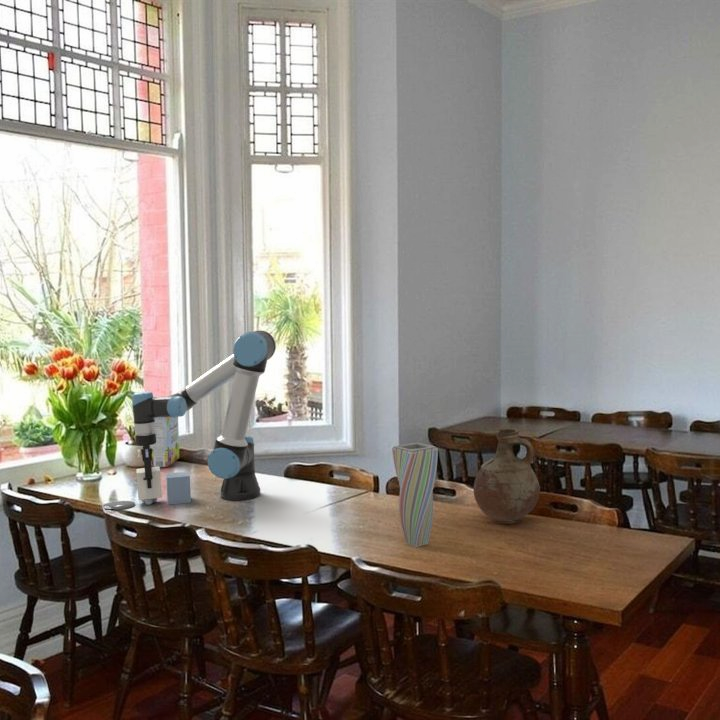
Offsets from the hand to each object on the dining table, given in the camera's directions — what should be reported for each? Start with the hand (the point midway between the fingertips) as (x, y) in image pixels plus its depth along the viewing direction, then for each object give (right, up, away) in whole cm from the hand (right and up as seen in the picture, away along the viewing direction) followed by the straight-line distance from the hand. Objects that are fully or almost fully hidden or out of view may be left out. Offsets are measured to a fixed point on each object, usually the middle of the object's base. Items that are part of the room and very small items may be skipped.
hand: (150, 493), depth 320 cm
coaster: (-11, -4, -2) cm, 12 cm away
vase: (+95, -6, -58) cm, 112 cm away
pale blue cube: (+10, -3, +3) cm, 11 cm away
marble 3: (+1, -3, +3) cm, 4 cm away
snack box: (-11, +2, +74) cm, 75 cm away
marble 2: (0, -4, -1) cm, 4 cm away
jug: (+127, -3, -36) cm, 132 cm away
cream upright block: (0, -1, 0) cm, 1 cm away
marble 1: (-3, -3, +2) cm, 5 cm away
